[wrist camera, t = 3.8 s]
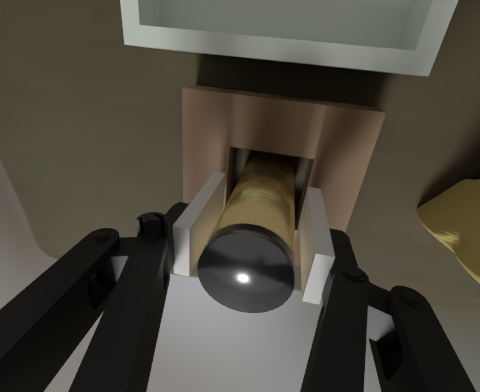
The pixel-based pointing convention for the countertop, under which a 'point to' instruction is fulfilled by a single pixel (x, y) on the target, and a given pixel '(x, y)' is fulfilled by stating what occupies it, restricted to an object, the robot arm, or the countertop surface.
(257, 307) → the brown and black cylinder
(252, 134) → the pin block
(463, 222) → the cheese
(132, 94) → the countertop surface
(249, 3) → the tray
